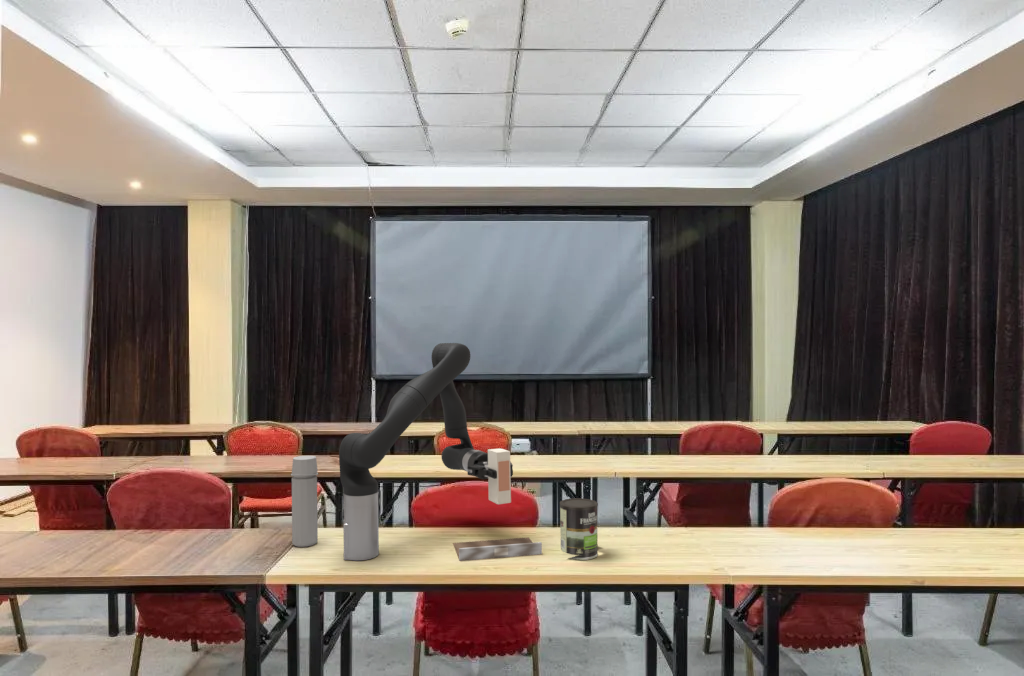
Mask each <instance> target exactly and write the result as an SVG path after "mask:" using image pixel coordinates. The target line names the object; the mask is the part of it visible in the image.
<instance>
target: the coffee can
mask: <svg viewBox="0 0 1024 676" xmlns="http://www.w3.org/2000/svg"><path fill="white" fill-rule="evenodd" d="M559 511H560V514H559V515H560V516H559V517H560V518H559V519H560V521H559V524H560V532H559V533H560V550H561V552H563V553H565V554H569V555H575V556H571V557H568V558H567V559H568V560H572V561H588V560H592V559H596V558H597V557H598V555H599V553H598V549H599V548H598V544H599V543H598V501H596V500H593V499H589V498H580V497H576V498H575V497H574V498H566V499H563V500H560V501H559Z"/></svg>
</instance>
